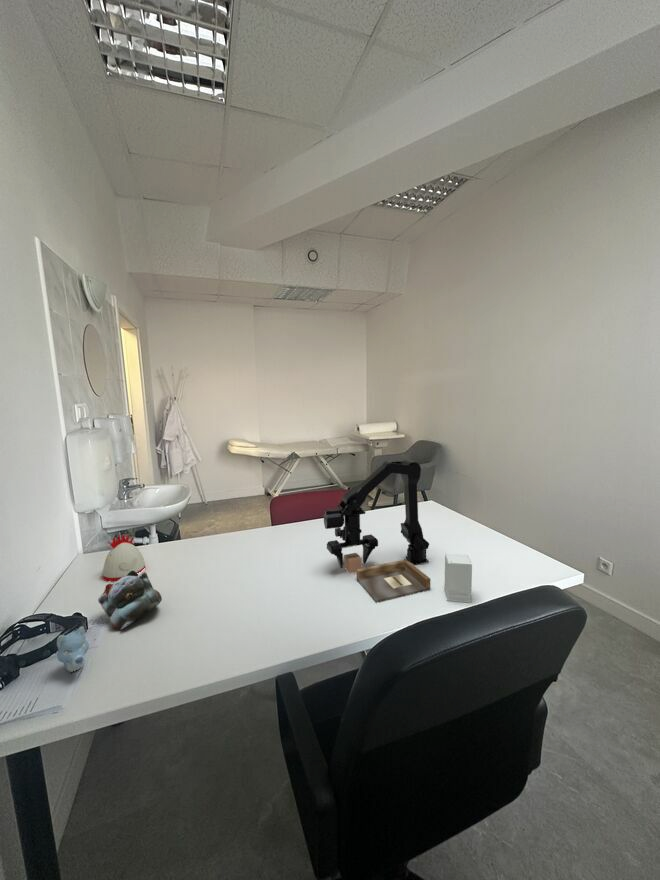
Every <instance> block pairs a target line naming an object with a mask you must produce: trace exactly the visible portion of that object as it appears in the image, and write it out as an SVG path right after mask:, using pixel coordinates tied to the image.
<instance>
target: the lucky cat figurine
mask: <svg viewBox="0 0 660 880" xmlns="http://www.w3.org/2000/svg"><path fill="white" fill-rule="evenodd" d="M104 588H105V589H104V591H103V593H102V594H100V596H99V597H98V598H97V602H98V603H99V604H100V605H101V608H102V610H104V613H105V614H106V616H107V617H108V620H109V621H110V625H111V627H112V629H113V630H118V631H122V630H123V629H125V628H126V627H128V626H130V625H132V624H133V623H134V622H135V621H137V620H138V619H140V618H142V617H143V616H145V615H147V614H148V613H149V612H150V611H152V610H153V609H154V608H156V607H157V606H158V605H160V603H161V602H162V600H163V599H162V595H161V593H160V592H159V591H158V590H156V589H154V588H153V585H152V583H151V581H150V578H149V576H148V573H147V572H146V571H144V572H142V573H141V574H140V575H138V574H137V573H136V572H135V571H130V572H129V573H128V574H127V576H125V577H122V578H121V579H119V580H118V581H116V582H113V583H107V584H106V585H105V587H104Z"/></svg>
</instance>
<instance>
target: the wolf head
mask: <svg viewBox="0 0 660 880" xmlns="http://www.w3.org/2000/svg"><path fill="white" fill-rule="evenodd" d="M56 646H57V652H56V653H57V655H56V656H57V660H58V662H60V663H63V665H64V668H65V669H66V670H67V671H68V672H72V673H73V671H74V672H77V671H78V670H80V669H81V668H82V667H83V665H84V662H85V661H86V653H87V652H88V650H89V649H90V647H89V646H90V645H89V642H88V641H87V639H86V630H85V627H84V626H82V625H81V626H79V627H78V628H77V629H76V630H75V631H72V632H70V633H68V634H66V635H65V634H60V635H58V637H57V639H56ZM76 670H77V671H76Z"/></svg>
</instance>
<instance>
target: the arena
mask: <svg viewBox="0 0 660 880" xmlns="http://www.w3.org/2000/svg"><path fill="white" fill-rule="evenodd" d="M356 581H357V582H358V584H360V585H361V587H362V588H363V589H364V590H365V592H366V593H367V594H368V595H369V596H370V597H371V599H372V600H373V601H374V603H376V604H378V603H381V602H385V601H390V600H393V599H397V598H398V597H399V598H402V597H401V596H403V597H407V596H411V595H414V594H413V593H415V594H419V593H418V592H420V593H423V591H424V592H427V591H431V578H430V577H429V576H428V575H426V574H425V573H424V572H422V570H421V569H419V568H418V567H416V566H415V564H413V563H412V562H410V561H409V560H408V559H401V560H396V561H392V562H386V563H381V564H376V565H371V566H367V567H362V568H361V569H357V572H356ZM410 594H411V595H410ZM406 595H407V596H406ZM377 602H378V603H377Z"/></svg>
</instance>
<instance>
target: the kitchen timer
mask: <svg viewBox="0 0 660 880" xmlns="http://www.w3.org/2000/svg"><path fill="white" fill-rule="evenodd" d="M121 536H122V537H121ZM121 536H120V535H119V534H118V536H117V540H116V539H115V537H114V536H113V537H112V543H111V542H110V541H108V544H109V546H111V549H110V550H109V552H108V554H107V555H106V557H105V560H104V562H103V563H104V564H103V569H102V579H103V580H104V581H105V580H106V581H105V582H108V581H118V580H119V579H121V578H122V577H125V576H127V574H128V573H129V572H130V571H135V572H136V573H139V572H141V571H142V570H143V569H144V568H145V569H146V562H145V560H144V557H143V554H142V553H141V551H140V549H138V548H137V546H135V545H134V544H132V543H133V542H134V537H131V539H130V535H126V536H125V533H124V534H123V533H122V535H121ZM129 539H130V540H129Z"/></svg>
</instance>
